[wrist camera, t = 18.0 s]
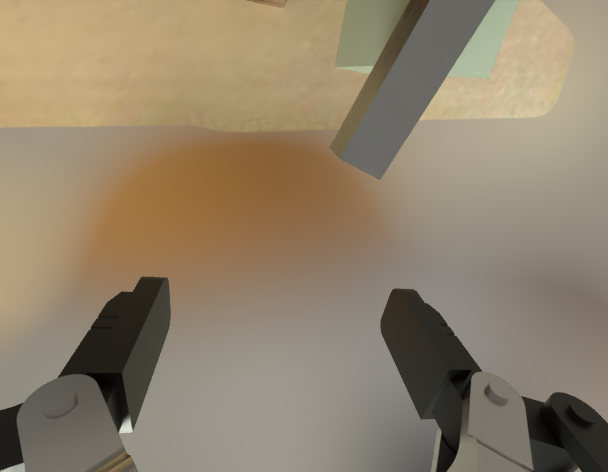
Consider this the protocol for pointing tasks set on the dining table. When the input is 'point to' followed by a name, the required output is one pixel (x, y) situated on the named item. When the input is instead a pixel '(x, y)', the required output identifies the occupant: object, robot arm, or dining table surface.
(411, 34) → the rod
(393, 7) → the step
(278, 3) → the stand
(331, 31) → the dining table surface
